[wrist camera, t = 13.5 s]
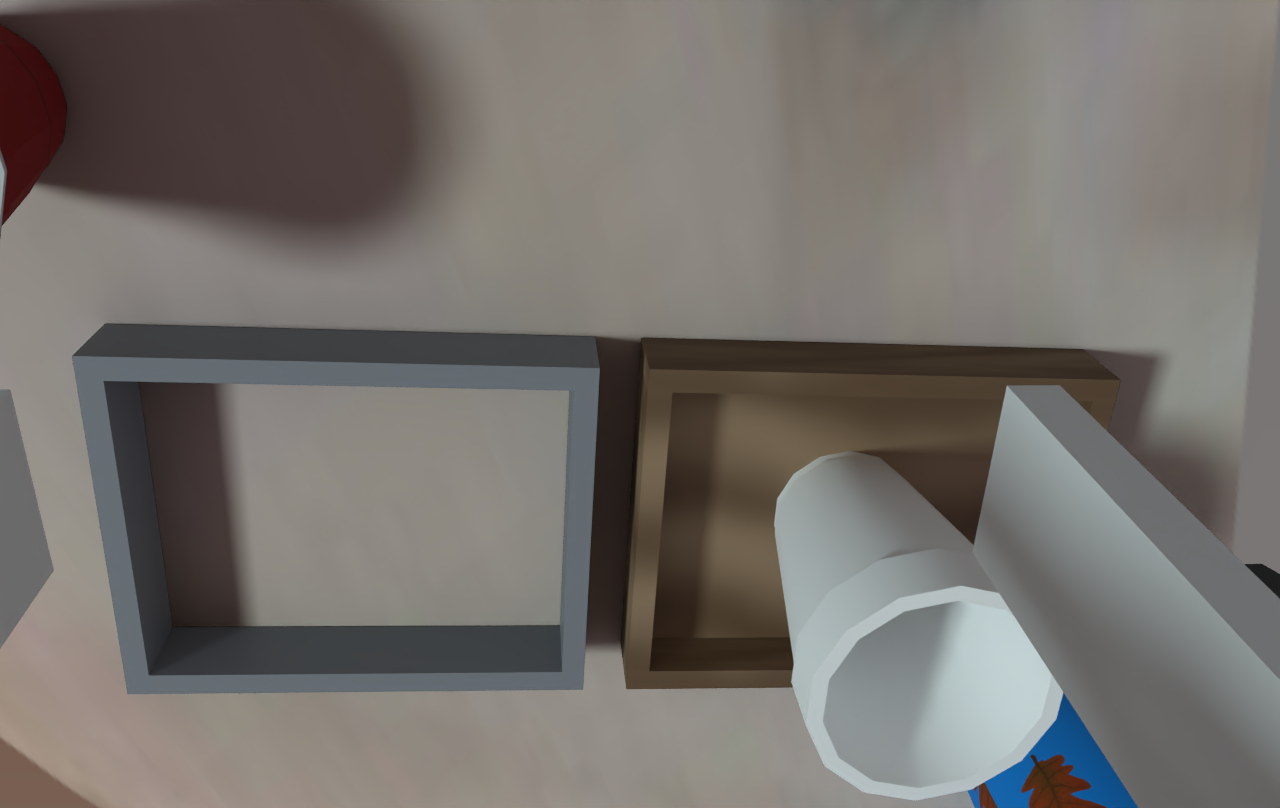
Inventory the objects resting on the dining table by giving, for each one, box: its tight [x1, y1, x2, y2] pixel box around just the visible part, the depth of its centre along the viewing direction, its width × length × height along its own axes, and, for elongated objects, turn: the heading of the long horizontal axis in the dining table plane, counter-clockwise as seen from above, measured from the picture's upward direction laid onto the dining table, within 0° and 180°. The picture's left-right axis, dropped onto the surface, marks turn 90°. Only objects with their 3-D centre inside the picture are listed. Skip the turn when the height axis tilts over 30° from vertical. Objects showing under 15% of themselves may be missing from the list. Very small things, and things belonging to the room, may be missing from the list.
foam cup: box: [774, 451, 1063, 801], centre depth 44 cm, size 10×9×13 cm
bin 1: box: [72, 324, 600, 694], centre depth 47 cm, size 16×20×4 cm
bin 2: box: [621, 338, 1121, 689], centre depth 49 cm, size 16×20×4 cm
